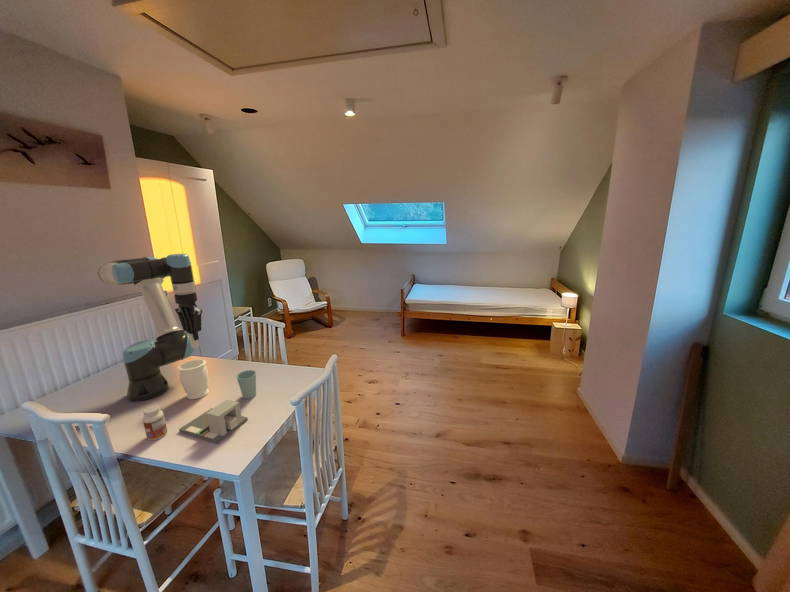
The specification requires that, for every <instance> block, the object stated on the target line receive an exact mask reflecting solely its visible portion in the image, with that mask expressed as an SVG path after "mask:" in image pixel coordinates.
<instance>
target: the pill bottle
mask: <svg viewBox="0 0 790 592" xmlns="http://www.w3.org/2000/svg"><path fill="white" fill-rule="evenodd" d="M142 412H143V418H142V423H143V427H144V431H145V435H146V439H148V440H149V441H157V440H159V439H161V438H163V437H164V436H166V434H168V426H167V422H166V419H165V415H164V412H163V411H162V410H161V409H160V405H156V404H155V405H151V406H148V407H146V408H145V409H144V410H143V411H142Z"/></svg>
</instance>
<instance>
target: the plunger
mask: <svg viewBox="0 0 790 592" xmlns="http://www.w3.org/2000/svg"><path fill="white" fill-rule="evenodd" d="M204 413H205V412H204ZM205 415H206V420H207V425H208V427H207V428H205V429H204V430H202V431H201V432H199V434H202V433H203V432H205V431H206V430H208V429H209V424H208V419H207V414H206V413H205ZM224 419H225V424H226V428H227V429H230V430H232V429H233V428H235V427H236V426H237V425H238V422H237V418H235V417H232V416H228V415H225V416H224Z"/></svg>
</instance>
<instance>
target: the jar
mask: <svg viewBox="0 0 790 592" xmlns="http://www.w3.org/2000/svg"><path fill="white" fill-rule="evenodd" d="M177 370H178V371H179V381H180V384H181V387H182V388H183V390H184V392H185V393H186V394H187V395H186V398H187V399H188V400H196V399H197V400H198V399H201V398H203V397H205V396H207V395H208V394H209V392H210V390H209V382H210V381H209V370H208V368H207V362H206V360H205V359H199V358H198V359H191V360H188V361H185V362H183V363H181V364H179V365H178V366H177Z"/></svg>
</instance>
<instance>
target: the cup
mask: <svg viewBox="0 0 790 592" xmlns="http://www.w3.org/2000/svg"><path fill="white" fill-rule="evenodd" d="M236 381H237V382H238V383H237V384H238V385H239V390H240V392H241V396H242V398H243V399H245V400H249V399H252V398H254V397H255V396H256V395H257V373H256V371H255V370H252V369H249V370H244V371H241V372H239V373H237V375H236Z"/></svg>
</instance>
